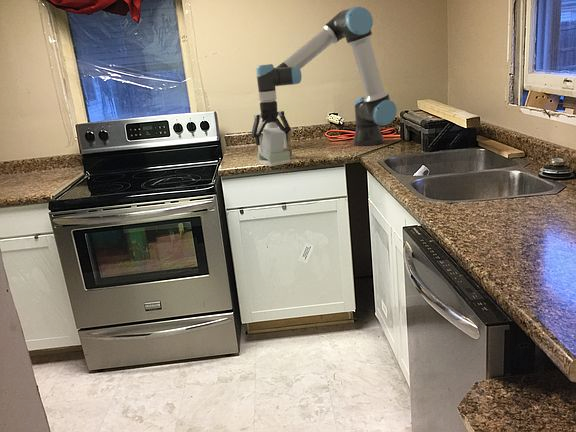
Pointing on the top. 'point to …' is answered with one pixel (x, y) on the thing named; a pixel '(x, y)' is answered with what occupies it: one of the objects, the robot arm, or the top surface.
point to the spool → (289, 145)
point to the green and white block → (274, 159)
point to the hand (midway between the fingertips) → (272, 150)
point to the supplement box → (272, 141)
